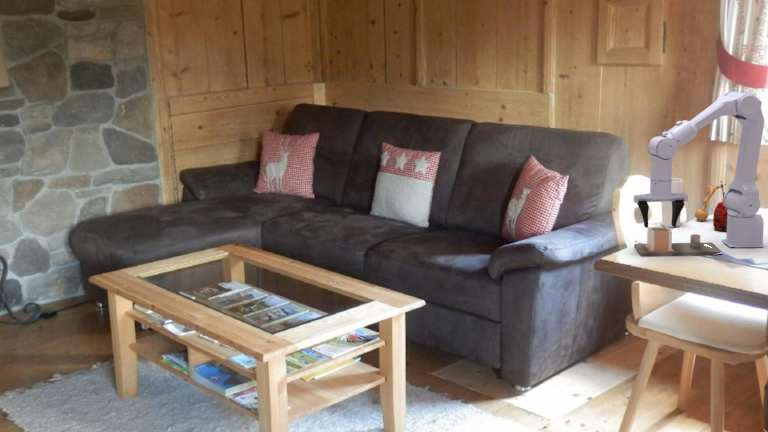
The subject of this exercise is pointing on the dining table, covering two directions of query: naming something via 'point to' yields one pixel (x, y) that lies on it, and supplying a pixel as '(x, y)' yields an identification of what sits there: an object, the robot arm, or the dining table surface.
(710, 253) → the pin board
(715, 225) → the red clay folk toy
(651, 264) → the dining table surface
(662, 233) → the sleeve
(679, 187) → the white tall cup
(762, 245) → the robot arm
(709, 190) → the tan bulb-shaped piece
